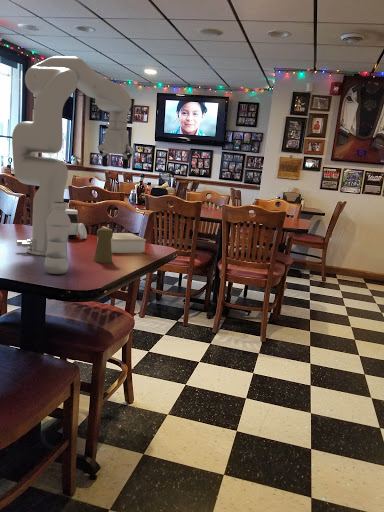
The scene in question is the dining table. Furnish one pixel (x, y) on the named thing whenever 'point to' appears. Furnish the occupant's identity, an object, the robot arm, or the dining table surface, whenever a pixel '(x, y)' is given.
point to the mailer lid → (125, 237)
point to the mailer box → (127, 246)
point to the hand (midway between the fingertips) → (114, 167)
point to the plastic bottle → (57, 239)
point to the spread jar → (75, 225)
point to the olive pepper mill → (103, 246)
